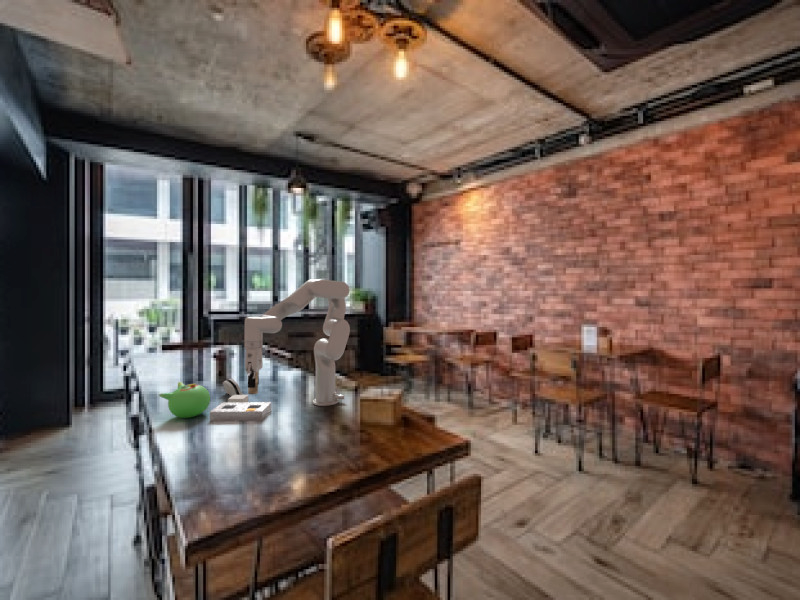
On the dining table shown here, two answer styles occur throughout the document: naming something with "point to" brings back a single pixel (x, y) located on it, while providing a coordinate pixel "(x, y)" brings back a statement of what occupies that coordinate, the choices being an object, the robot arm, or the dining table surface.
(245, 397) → the beige square block
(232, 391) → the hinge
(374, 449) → the dining table surface
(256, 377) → the peg
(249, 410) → the plate
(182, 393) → the toy bird
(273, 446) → the dining table surface
